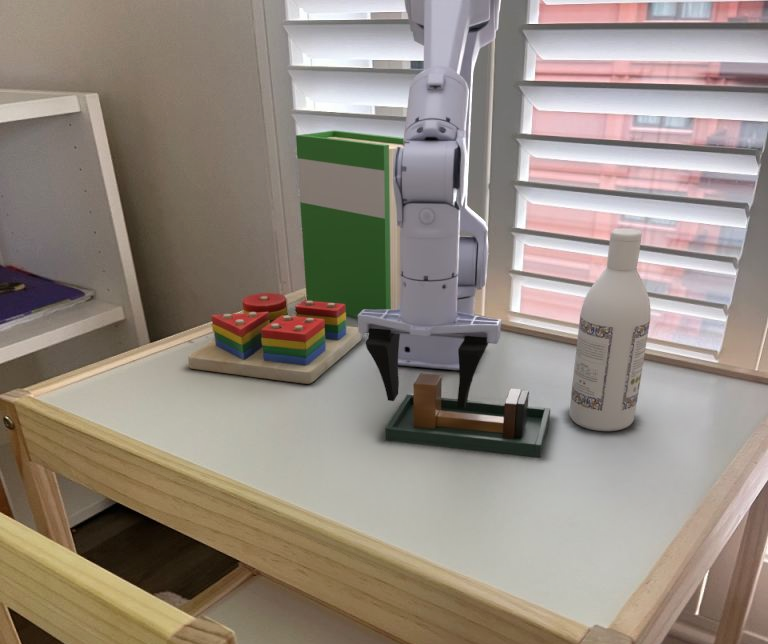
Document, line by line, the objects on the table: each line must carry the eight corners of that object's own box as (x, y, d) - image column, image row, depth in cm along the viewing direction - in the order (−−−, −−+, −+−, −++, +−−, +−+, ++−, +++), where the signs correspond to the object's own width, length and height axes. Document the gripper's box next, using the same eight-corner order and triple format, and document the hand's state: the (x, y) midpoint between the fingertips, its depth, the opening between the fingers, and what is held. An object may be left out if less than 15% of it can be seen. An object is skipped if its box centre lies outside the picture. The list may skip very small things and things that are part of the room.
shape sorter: (310, 385, 98) (307, 337, 95) (187, 369, 103) (180, 323, 100) (363, 338, 112) (361, 295, 108) (252, 326, 117) (247, 284, 114)
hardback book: (421, 315, 120) (422, 139, 108) (386, 327, 116) (383, 145, 103) (341, 292, 131) (334, 130, 118) (306, 302, 126) (295, 135, 114)
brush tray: (385, 440, 85) (385, 428, 84) (407, 405, 92) (406, 394, 92) (539, 457, 81) (541, 445, 80) (549, 419, 88) (550, 408, 88)
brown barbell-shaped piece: (412, 428, 86) (412, 385, 83) (420, 413, 89) (421, 371, 87) (521, 440, 83) (525, 396, 81) (526, 424, 87) (530, 381, 84)
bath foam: (624, 406, 91) (652, 222, 81) (641, 432, 85) (673, 238, 75) (563, 406, 91) (583, 224, 81) (575, 433, 85) (598, 240, 75)
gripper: (346, 279, 77) (351, 409, 85) (496, 289, 74) (488, 423, 81) (367, 261, 83) (370, 383, 90) (507, 269, 80) (499, 395, 87)
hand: (427, 400), depth 86 cm, fingers open, 7 cm apart
